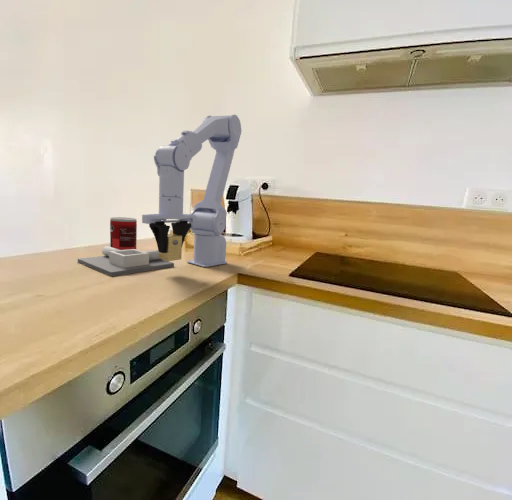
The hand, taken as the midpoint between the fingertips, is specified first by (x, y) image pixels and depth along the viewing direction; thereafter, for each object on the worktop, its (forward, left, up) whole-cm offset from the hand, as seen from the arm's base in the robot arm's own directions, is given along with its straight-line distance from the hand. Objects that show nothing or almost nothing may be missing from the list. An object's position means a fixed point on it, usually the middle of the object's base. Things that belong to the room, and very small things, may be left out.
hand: (170, 251), depth 80 cm
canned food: (-5, -31, -6) cm, 32 cm away
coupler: (0, 0, -2) cm, 2 cm away
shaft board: (+3, -15, -6) cm, 16 cm away
